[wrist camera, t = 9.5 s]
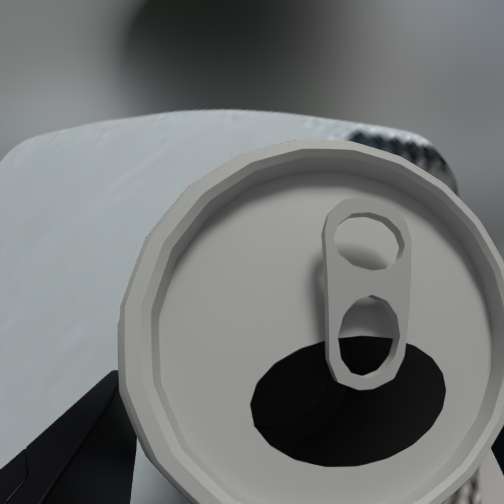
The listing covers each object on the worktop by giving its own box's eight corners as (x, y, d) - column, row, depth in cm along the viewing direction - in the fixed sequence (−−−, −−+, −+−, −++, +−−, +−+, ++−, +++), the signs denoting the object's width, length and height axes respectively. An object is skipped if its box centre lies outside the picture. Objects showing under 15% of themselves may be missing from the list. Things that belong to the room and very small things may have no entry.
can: (191, 436, 12) (63, 552, 2) (203, 295, 16) (143, 96, 5) (340, 439, 12) (532, 498, 2) (342, 303, 16) (490, 149, 5)
